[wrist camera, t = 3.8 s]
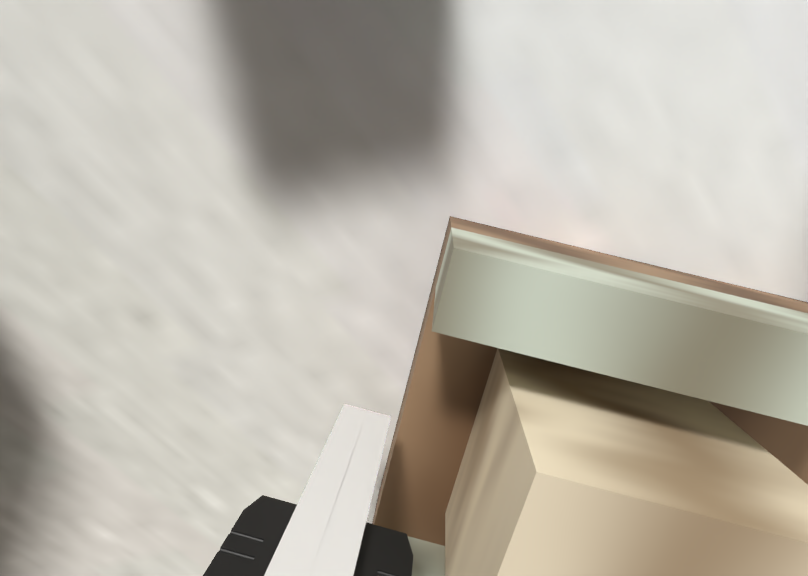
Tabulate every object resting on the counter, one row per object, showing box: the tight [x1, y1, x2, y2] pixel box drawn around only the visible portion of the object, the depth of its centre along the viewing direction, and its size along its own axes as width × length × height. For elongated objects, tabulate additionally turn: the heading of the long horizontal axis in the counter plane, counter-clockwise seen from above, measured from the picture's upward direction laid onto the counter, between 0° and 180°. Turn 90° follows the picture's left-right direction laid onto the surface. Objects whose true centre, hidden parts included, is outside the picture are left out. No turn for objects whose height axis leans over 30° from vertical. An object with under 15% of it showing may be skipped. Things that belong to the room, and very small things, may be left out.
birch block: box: [445, 348, 808, 576], centre depth 11 cm, size 7×7×6 cm
